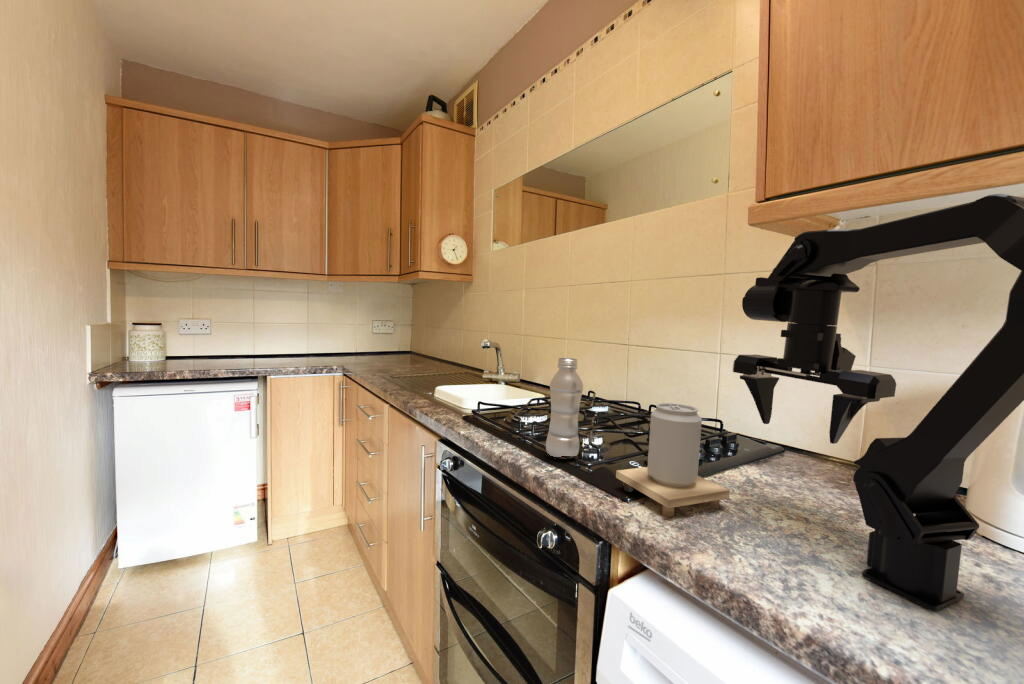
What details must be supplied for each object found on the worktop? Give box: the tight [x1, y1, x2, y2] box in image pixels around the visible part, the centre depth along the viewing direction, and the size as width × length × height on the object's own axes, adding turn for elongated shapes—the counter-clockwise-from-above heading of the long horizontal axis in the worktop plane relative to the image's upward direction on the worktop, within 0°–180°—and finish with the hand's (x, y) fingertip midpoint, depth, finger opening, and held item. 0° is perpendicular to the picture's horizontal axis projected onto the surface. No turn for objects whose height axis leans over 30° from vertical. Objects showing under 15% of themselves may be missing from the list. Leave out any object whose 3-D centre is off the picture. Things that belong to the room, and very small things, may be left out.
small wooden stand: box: [615, 466, 731, 518], centre depth 68 cm, size 12×12×3 cm
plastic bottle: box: [545, 357, 584, 457], centre depth 85 cm, size 6×7×20 cm
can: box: [647, 402, 703, 487], centre depth 68 cm, size 8×8×12 cm
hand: (797, 432), depth 62 cm, fingers open, 9 cm apart
